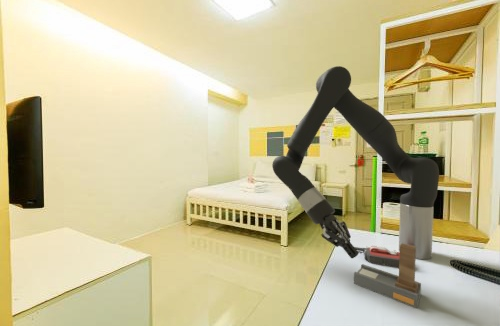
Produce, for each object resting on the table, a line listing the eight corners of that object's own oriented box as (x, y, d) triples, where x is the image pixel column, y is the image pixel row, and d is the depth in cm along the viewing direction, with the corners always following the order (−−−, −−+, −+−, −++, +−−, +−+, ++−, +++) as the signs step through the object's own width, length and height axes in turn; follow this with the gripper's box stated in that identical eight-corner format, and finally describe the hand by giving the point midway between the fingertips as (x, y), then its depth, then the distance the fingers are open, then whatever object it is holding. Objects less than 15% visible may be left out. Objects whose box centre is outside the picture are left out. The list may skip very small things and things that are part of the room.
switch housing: (362, 273, 64) (362, 263, 64) (420, 293, 54) (421, 282, 54) (353, 283, 59) (353, 273, 58) (416, 308, 49) (416, 296, 49)
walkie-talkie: (406, 258, 73) (342, 249, 81) (407, 245, 73) (342, 237, 81) (415, 271, 65) (342, 259, 73) (415, 257, 65) (342, 246, 73)
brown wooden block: (398, 280, 56) (399, 241, 56) (417, 286, 53) (419, 246, 53) (394, 286, 53) (396, 246, 53) (415, 294, 51) (416, 251, 50)
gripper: (313, 201, 62) (358, 258, 55) (332, 195, 72) (373, 242, 64) (297, 216, 66) (336, 271, 58) (317, 208, 76) (353, 254, 68)
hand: (355, 256), depth 61 cm, fingers closed
